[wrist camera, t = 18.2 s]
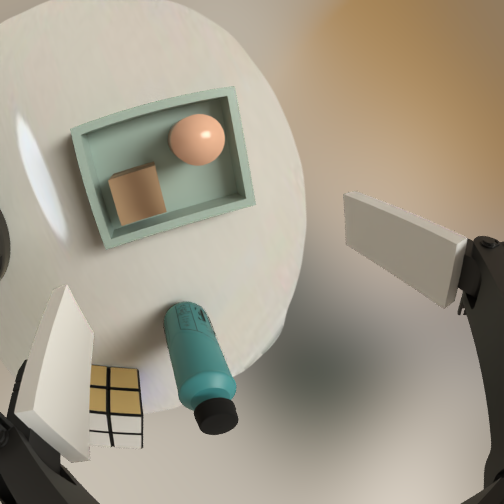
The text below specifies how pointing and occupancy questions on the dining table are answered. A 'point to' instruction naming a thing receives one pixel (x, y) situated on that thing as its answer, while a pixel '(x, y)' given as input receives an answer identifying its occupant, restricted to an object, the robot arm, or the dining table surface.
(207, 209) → the tray
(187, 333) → the beverage bottle
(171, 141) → the peach rounded smooth part
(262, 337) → the dining table surface
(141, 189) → the walnut cube
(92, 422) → the puzzle cube
